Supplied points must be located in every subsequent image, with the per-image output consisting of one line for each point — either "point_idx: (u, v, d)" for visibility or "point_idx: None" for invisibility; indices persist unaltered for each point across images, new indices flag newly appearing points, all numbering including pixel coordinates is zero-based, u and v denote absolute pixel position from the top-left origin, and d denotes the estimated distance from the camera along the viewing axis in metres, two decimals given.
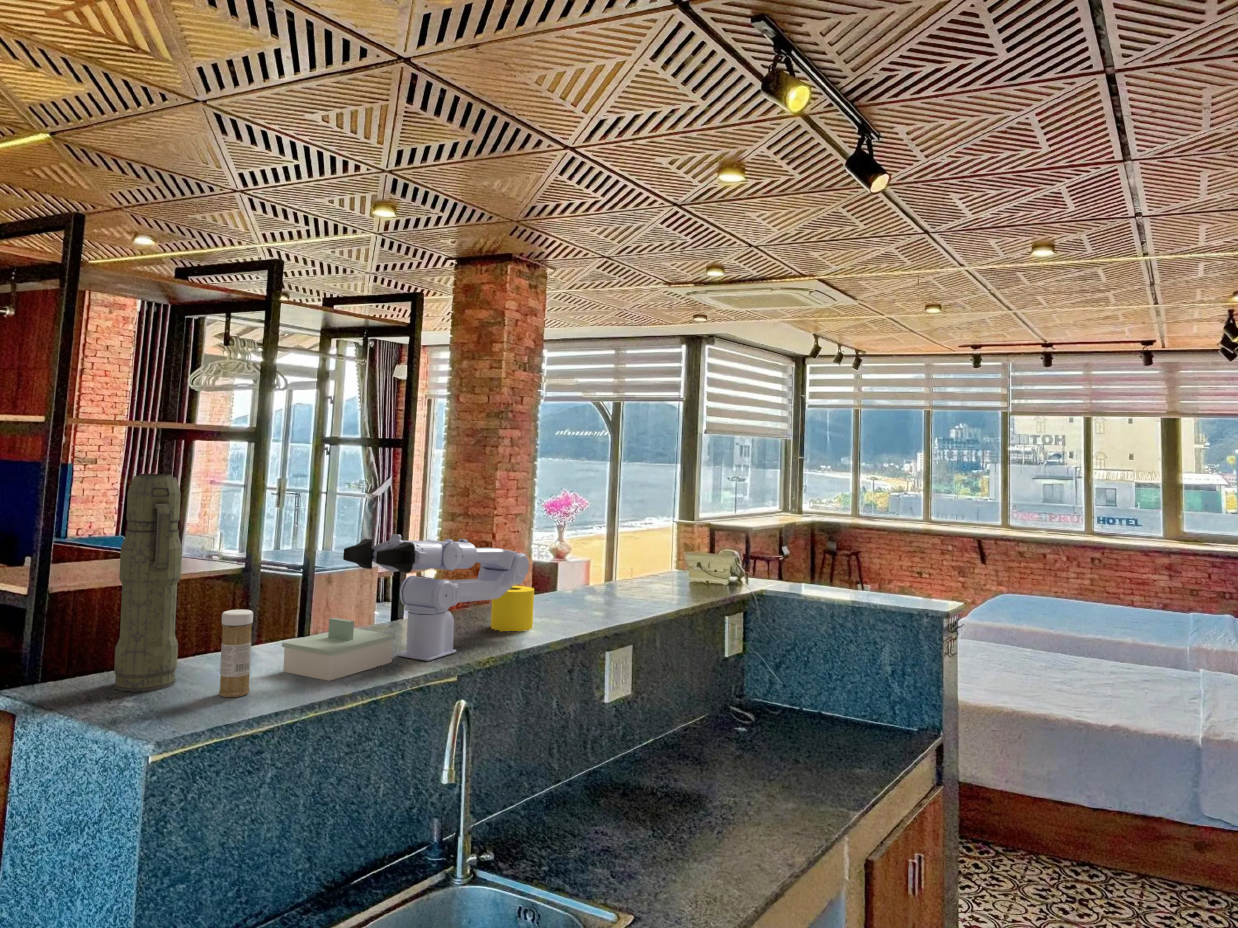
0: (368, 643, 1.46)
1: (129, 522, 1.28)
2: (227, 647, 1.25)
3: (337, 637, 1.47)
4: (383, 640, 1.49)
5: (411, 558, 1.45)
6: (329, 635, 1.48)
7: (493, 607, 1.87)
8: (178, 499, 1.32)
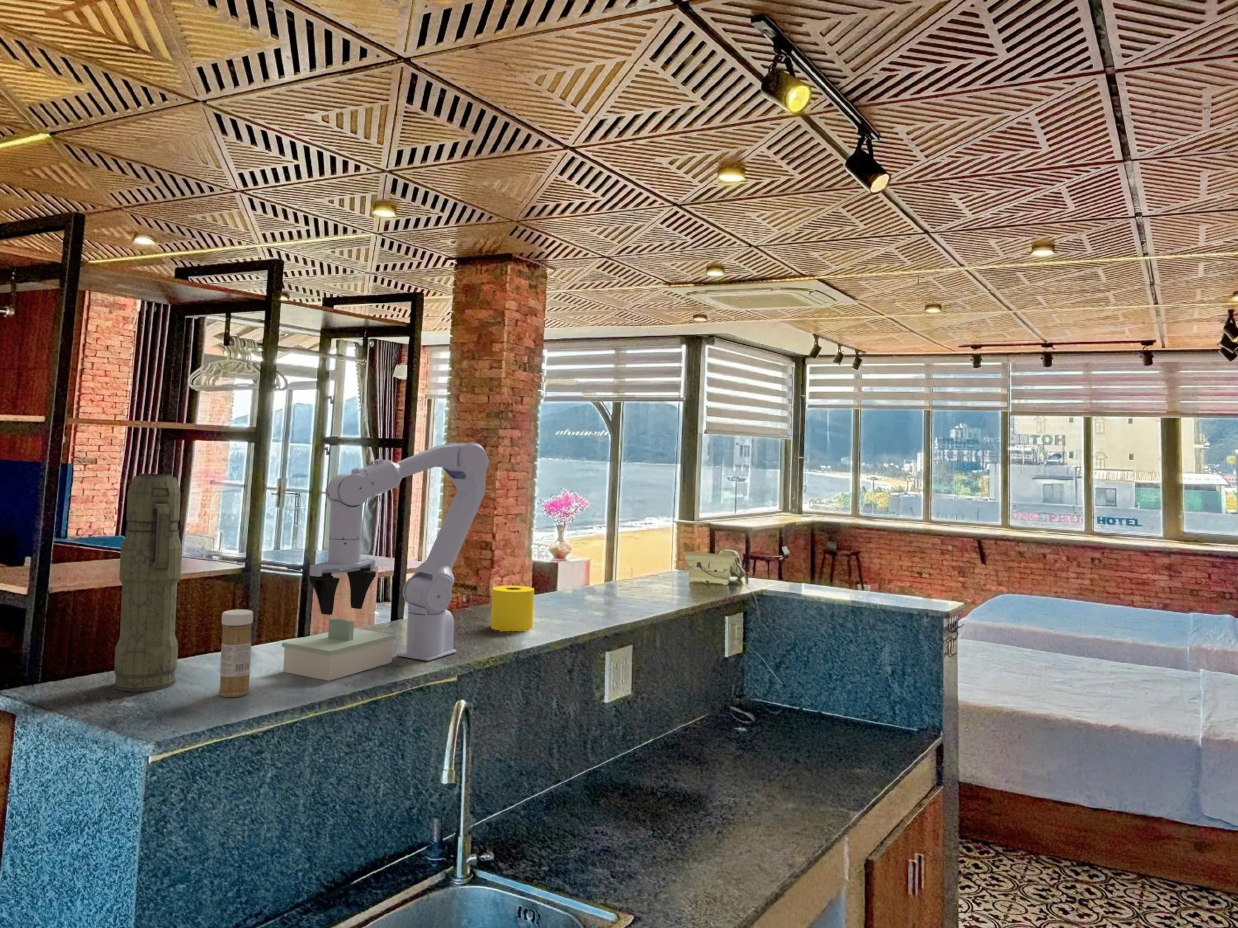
0: (368, 643, 1.46)
1: (129, 522, 1.28)
2: (227, 647, 1.25)
3: (337, 637, 1.47)
4: (383, 640, 1.49)
5: (319, 579, 1.42)
6: (329, 635, 1.48)
7: (493, 607, 1.87)
8: (178, 499, 1.32)
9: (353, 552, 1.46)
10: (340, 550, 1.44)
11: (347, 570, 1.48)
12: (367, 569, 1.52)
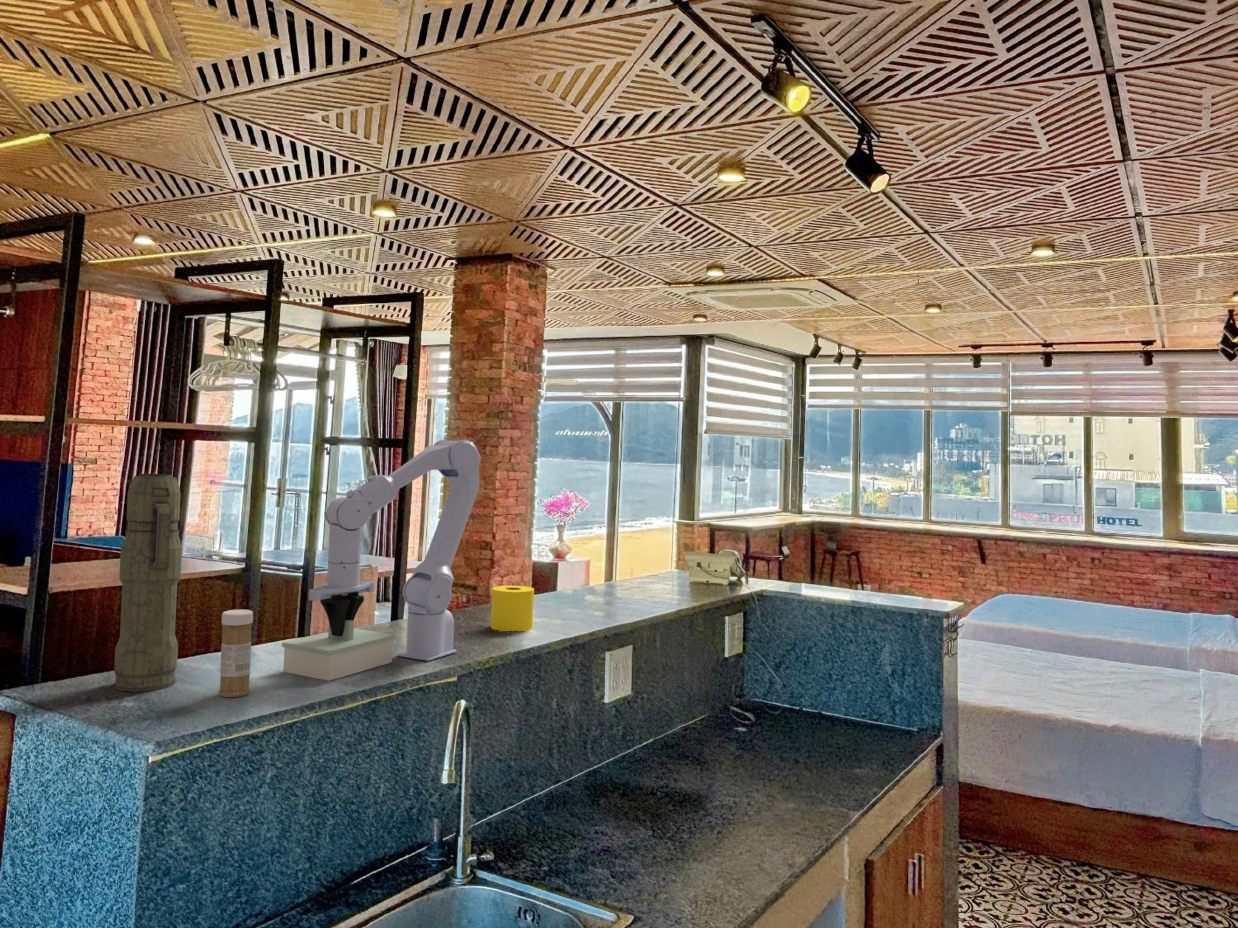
0: (368, 643, 1.46)
1: (129, 522, 1.28)
2: (227, 647, 1.25)
3: (337, 637, 1.47)
4: (383, 640, 1.49)
5: (330, 601, 1.44)
6: (329, 635, 1.48)
7: (493, 607, 1.87)
8: (178, 499, 1.32)
9: (352, 576, 1.46)
10: (339, 574, 1.44)
11: (346, 593, 1.48)
12: None
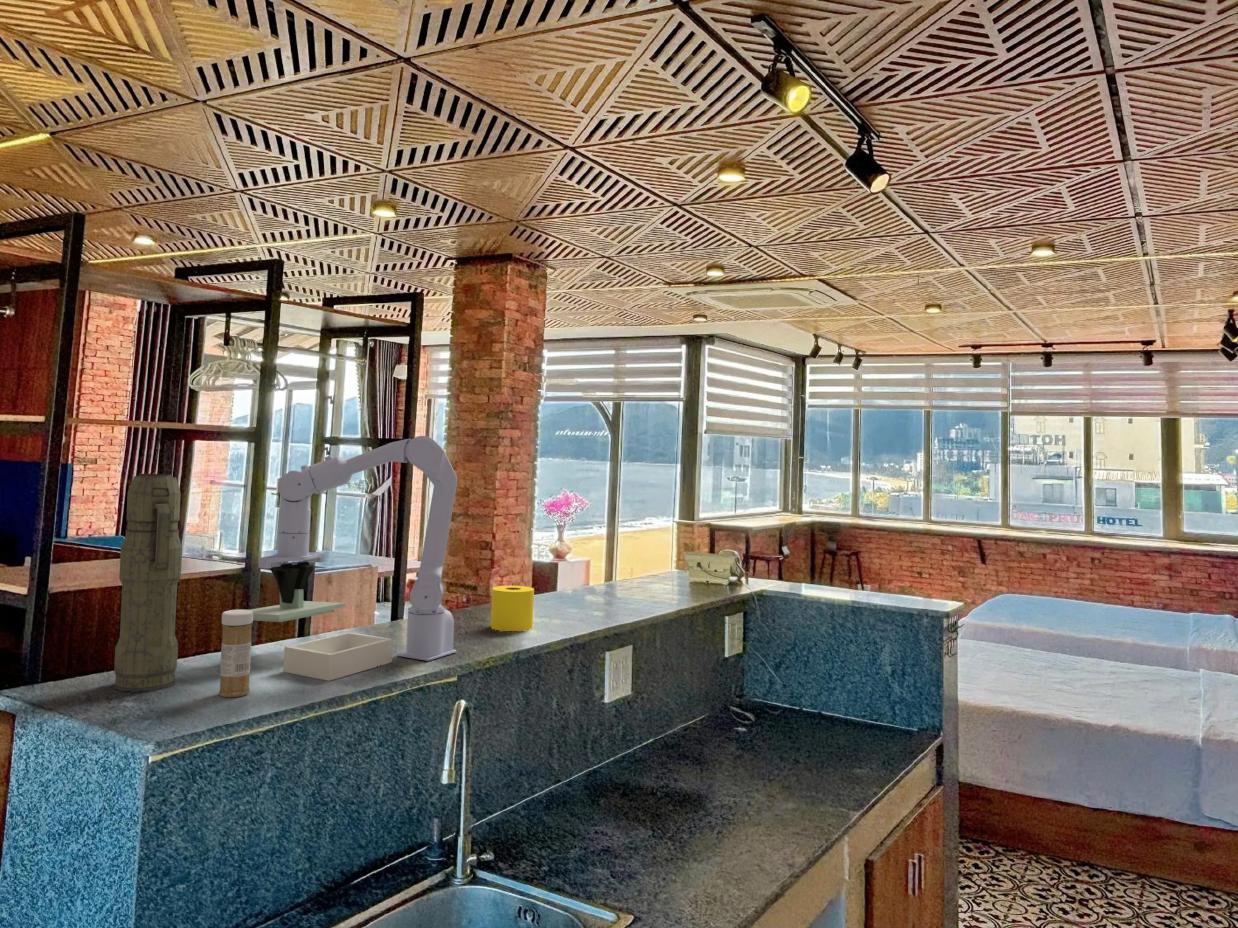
0: (317, 609, 1.52)
1: (129, 522, 1.28)
2: (227, 647, 1.25)
3: (288, 606, 1.53)
4: (333, 608, 1.56)
5: (280, 570, 1.51)
6: (280, 605, 1.54)
7: (493, 607, 1.87)
8: (178, 499, 1.32)
9: (301, 546, 1.52)
10: (288, 544, 1.51)
11: (296, 563, 1.54)
12: None
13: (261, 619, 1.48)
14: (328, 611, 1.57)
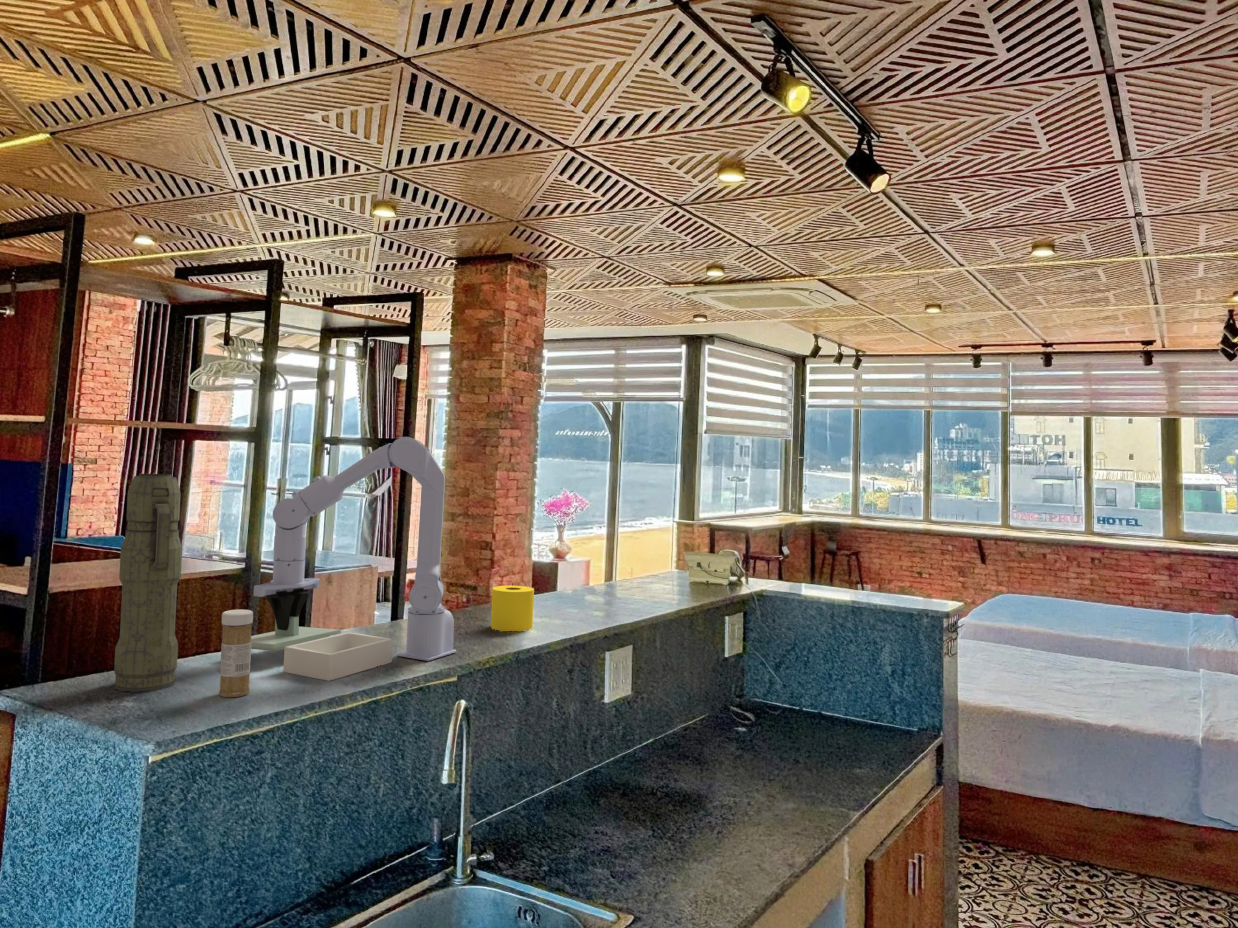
0: (312, 637, 1.53)
1: (129, 522, 1.28)
2: (227, 647, 1.25)
3: (283, 633, 1.54)
4: (328, 635, 1.56)
5: (275, 597, 1.52)
6: (276, 632, 1.55)
7: (493, 607, 1.87)
8: (178, 499, 1.32)
9: (297, 573, 1.53)
10: (283, 571, 1.52)
11: (291, 590, 1.55)
12: None
13: (256, 647, 1.48)
14: None
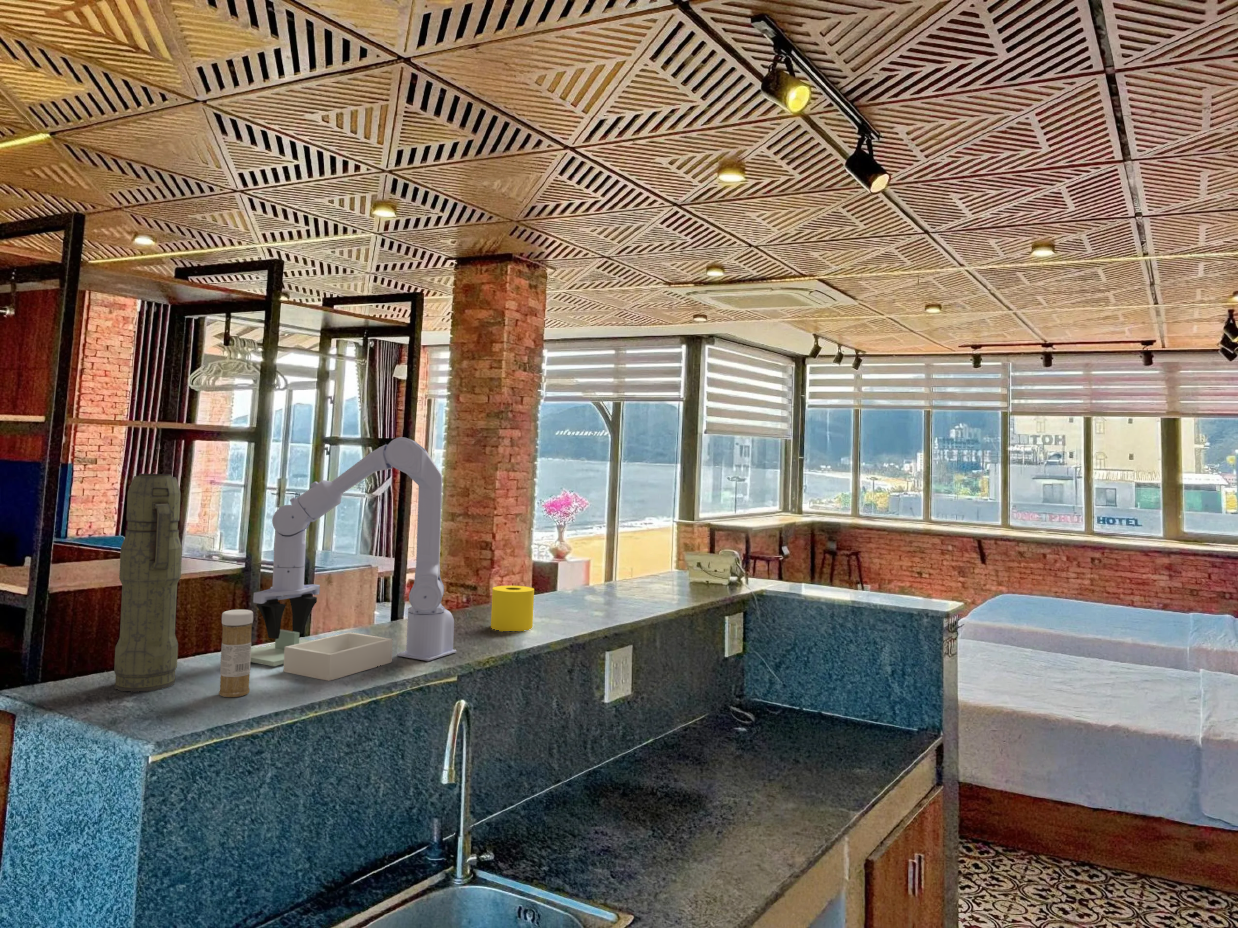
0: None
1: (129, 522, 1.28)
2: (227, 647, 1.25)
3: (283, 648, 1.54)
4: None
5: (266, 605, 1.50)
6: (276, 646, 1.54)
7: (493, 607, 1.87)
8: (178, 499, 1.32)
9: (296, 580, 1.53)
10: (283, 578, 1.52)
11: (291, 596, 1.55)
12: (312, 594, 1.59)
13: None
14: None
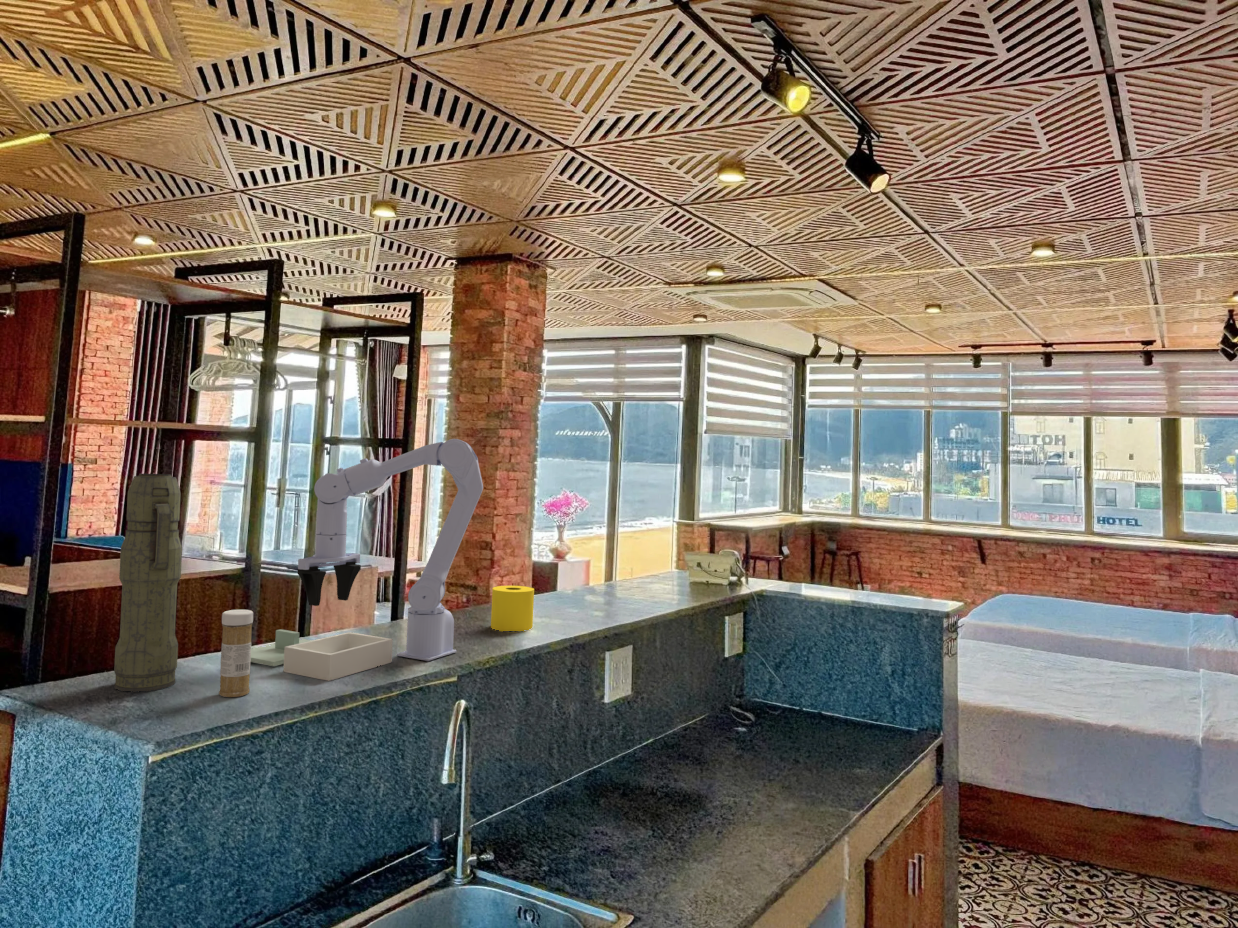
0: None
1: (129, 522, 1.28)
2: (227, 647, 1.25)
3: (283, 648, 1.54)
4: None
5: (307, 572, 1.51)
6: (276, 646, 1.54)
7: (493, 607, 1.87)
8: (178, 499, 1.32)
9: (339, 547, 1.55)
10: (326, 545, 1.54)
11: (333, 564, 1.57)
12: (352, 563, 1.61)
13: None
14: None
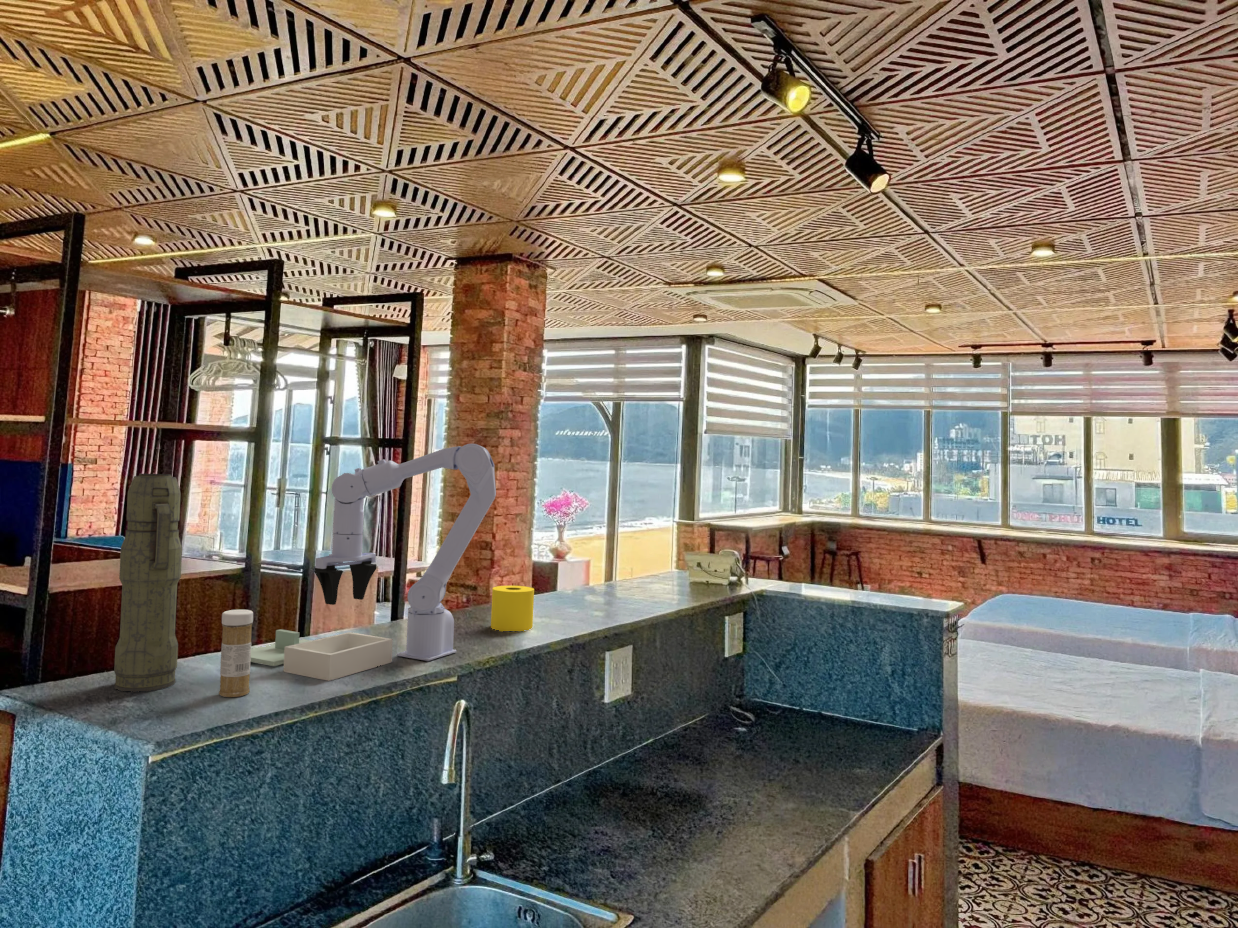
0: None
1: (129, 522, 1.28)
2: (227, 648, 1.25)
3: (283, 648, 1.54)
4: None
5: (324, 571, 1.52)
6: (276, 646, 1.54)
7: (493, 607, 1.87)
8: (178, 499, 1.32)
9: (355, 547, 1.56)
10: (343, 545, 1.55)
11: (350, 563, 1.58)
12: (368, 562, 1.62)
13: None
14: None
